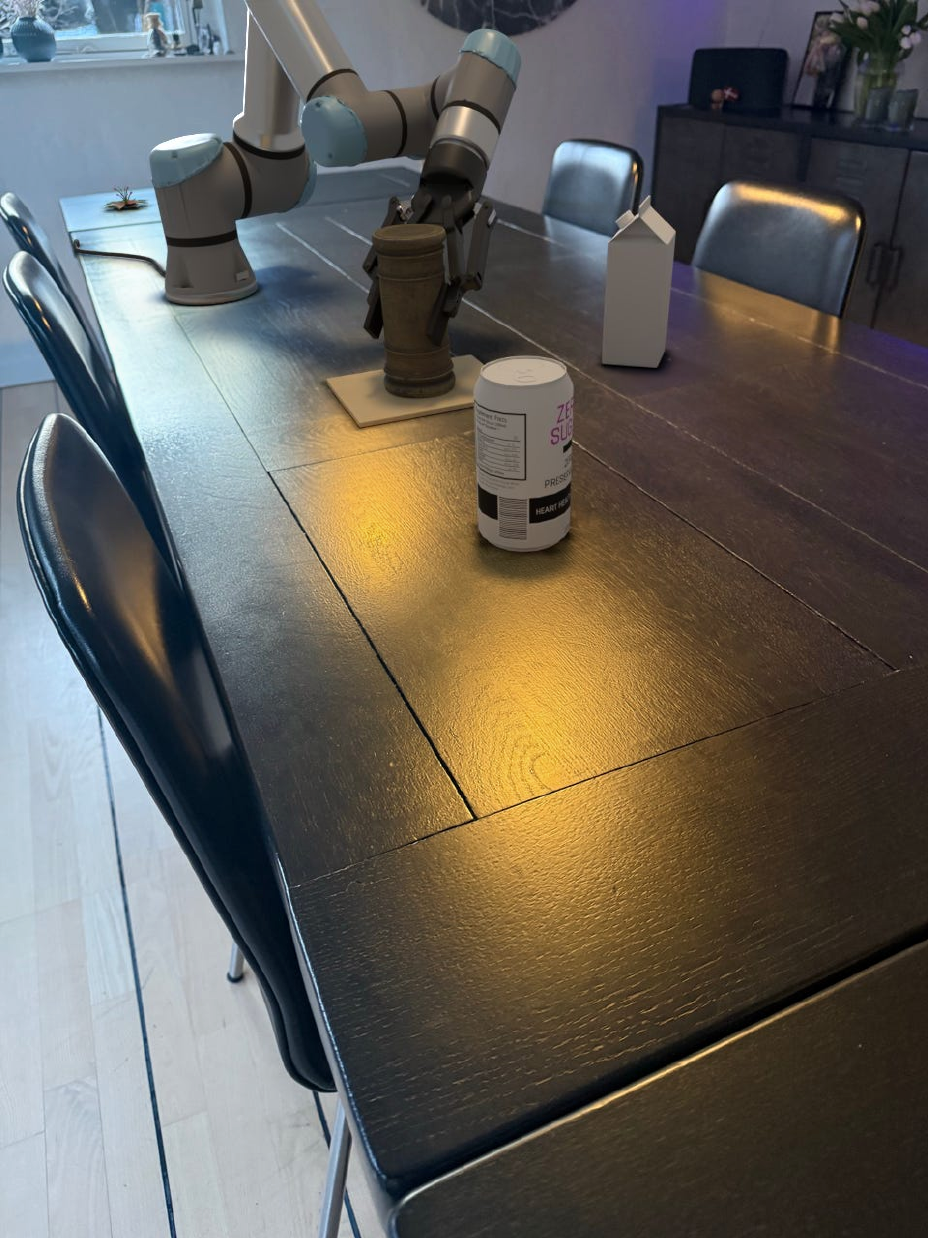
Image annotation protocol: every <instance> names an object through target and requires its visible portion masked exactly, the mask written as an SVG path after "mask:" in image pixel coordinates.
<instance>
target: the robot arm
mask: <svg viewBox="0 0 928 1238" xmlns="http://www.w3.org/2000/svg"><path fill="white" fill-rule="evenodd" d="M243 2H244V3H245V5H246V7H247V23H246V24H247V26H246V46H245V48H246V49H245V67H244V69H245V70H244V86H243V87H244V89H243V108H242V110H243V111H242V112H241V113H240V114H238V115H236V117H235V118H234V119H233V121H232V134H231V135H232V136H231V140H227V141H223V139H222V138H221V136H220V135H218V134H217V133H214V132H213V133H210V132H207V133H205V132H204V133H196V134H193V135H185V136H181V137H177V138H174V139H173V138H172V139H170V140H168V141H165V142H162V143H159V144H158V145H156V146H155V147H153V149H152V150H150V151H151V152H150V154H149V157H148V161H149V168H150V175H151V185H152V186H153V191H154V194H155V199H156V203H157V208H158V212H159V216H160V221H161V225H162V228H163V235H164V238H165V243H166V249H167V251H166V265H165V269H164V268H163V266H161V265H160V264H159V262H157V261H156V260H155V259H154V258H152V257H149V256H145V255H141V254H134V253H126V252H125V253H124V252H111V251H100V250H90V249H89V250H88V249H82V248H79V247H80V246H81V243H80V240H79V238H75V239H74V240H73V242H72V246H73V250H74V252H76V253H78V254H81V255H88V256H99V257H111V258H124V259H133V260H138V261H139V260H140V261H145V262H147V263H149V264H152V265H153V266H154V267H155V268H156V269H157V270H158V271H159V272H160V273H161V274H162V275H163V276H164V277H165V278H164V291H165V295H166V299H167V300H168V301H169V302H172V303H175V304H179V305H190V306H199V305H200V306H202V305H215V304H222V303H227V302H233V301H237V300H240V299H244V298H247V297H249V296H251V295H253V294H254V293H256V291H258V289H259V286H258V281H257V280H258V279H257V277H256V274H255V271H254V269H253V267H252V265H251V263H250V261H249V259H248V257H247V255H246V253H245V250H244V249H243V247H242V245H241V243H240V239H239V235H238V234H239V233H238V228H237V223H236V221H240V220H241V221H242V220H246V219H250V218H251V219H252V218H256V217H261V216H267V215H270V214H284V213H288V212H290V211H292V210H294V209H295V210H296V209H299V208H302V207H304V205H306V204H308V202H309V201H310V200H311V198H312V196H313V194H314V191H315V189H316V185H317V179H318V165H319V166H321V167H323V168H343V167H344V168H345V167H346V168H347V167H348V168H352V167H356V166H359V165H361V164H366V163H373V162H377V161H383V160H388V159H389V160H390V159H398V158H403V157H405V158H407V159H410V160H412V161H420V160H423V159H425V158H426V159H425V162H424V165H423V168H422V171H421V173H420V175H419V182H418V183H419V184H418V189H417V190H416V191H415V192H414V194H413V195H412V197H411V199H405V200H404V199H403V200H400V199H399V197H398V196H392V197H390V199H388V200H389V201H388V207H387V213H386V215H385V218H384V219H383V222H382V224H381V226H380V228H379V229H381V228H384V227H388V226H394V225H403V224H430V225H437V226H440V227H442V228H444V230H445V232H446V239H445V240H446V250H447V251H446V253H447V262H448V274H449V275H448V276H447V279H448V281H449V282H450V284H449V282H445V283H444V282H442V285H441V289H440V291H439V294H438V297H437V301H436V304H435V307H434V310H433V313H432V316H431V319H430V322H429V325H428V329H427V332H426V336H427V337H428V338H429V340H430V341H431V342H432V343H433V345H434V346H438V347H440V346H441V343H442V340H443V337H444V334H445V330H446V327H447V325H448V324H449V322H450V321H449V320H450V318H451V319H455V318H456V316H457V315H458V313H459V309H460V306H461V303H462V300H463V297H464V295H465V294H466V293H467V292H469V291H474V292H478V291H481V290H482V289H483V284H484V279H485V278H484V277H485V273H486V266H487V260H488V254H489V249H490V248H489V246H490V242H491V241H490V240H491V234H492V231H493V230H494V227H495V226H496V224H497V222H498V219H499V216H498V214H497V212H496V209H495V208H494V206H493V204H492V202H491V201H489V200H486V201H484V202H483V203H479V201H480V199H481V196H482V193H483V190H484V187H485V184H486V181H487V178H488V172H489V170H490V167H491V164H492V161H493V158H494V155H495V151H496V149H497V146H498V142H499V139H500V136H501V134H502V131H503V128H504V126H505V122H506V119H507V116H508V113H509V110H510V107H511V104H512V101H513V98H514V96H515V92H516V91H517V88H518V84H517V83H518V79H519V76H520V72H521V68H522V56H521V52H520V51H519V48H518V46H517V45H516V44H515V42H514V41H512V40H510V38H509V37H508V36H507V35H506V34H504V33H502V32H501V31H499V30H495V29H491V28H479V29H476V30H473V31H472V32H470V33H469V34H468V35H467V37H466V38H465V40H464V42H463V44H462V47H461V48H460V49H459V51H458V59H457V61H456V62H455V64H453V65H452V66H451V67H450V68H448V69H447V70H445V71H443V72H442V73H441V74H439V75H438V76H436V78H434V79H432V80H430V81H428V82H427V83H424V84H421V85H418V86H409V87H400V88H393V89H392V88H391V89H381V90H371V91H370V90H368V89H367V87H366V85H365V83H364V81H363V80H362V78H361V76H360V75H359V74H358V72H357V70H356V69H355V67H354V66H353V64H352V61H351V60H350V59H349V56H348V55H347V53H346V51H345V50H344V48H343V47H342V44H341V43H340V41H339V39H338V38H337V36H336V34H335V32H334V30H333V28H332V27H331V25H330V24H329V22H328V20H327V19H326V16H325V15H324V13H323V12H322V9H321V8H320V7H319V4H318V3H317V1H316V0H243ZM301 102H302V103H303V105H304V106H303V108H302V112H301V116H300V123H299V115H300V104H301ZM410 214H411V215H410ZM409 216H410V217H409ZM472 219H474V222H473V227H472V233H471V240H470V245H469V252H468V257H467V264H466V262H465V251H464V244H465V237H464V236H465V235H464V227H465V226H466V225H467V224H468V223H470V221H472ZM376 248H377V247H376V246H374V245H373V244H371V246H370V249H369V250H368V253H367V255H366V257H365V259H364V261H363V263H362V265H361V266H362V267H361V268H362V270H363V271H364V272H365V273H366V275H367V276H368V277H369V279H370V280H371V282H372V283H371V286H370V289H369V292H368V295H367V298H366V303H367V304H368V306H369V307H368V311H367V314H366V316H365V320H364V323H363V325H362V328H363V329H364V330H365V332H367V333H368V335H369V336H370V337H371V338H372V339H373V340H379V339H380V336H381V333H382V331H383V318H382V308H381V298H380V288H379V277H378V275H377V271H378V258H377V254H376V253H375V249H376Z"/></svg>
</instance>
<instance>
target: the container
mask: <svg viewBox="0 0 928 1238" xmlns="http://www.w3.org/2000/svg"><path fill="white" fill-rule="evenodd" d="M380 228H381V227H380ZM380 228H378V229H376V230H374V231H373V232H372V235H371V243H372V245H374V246H376V247H377V248H376V249H375V253H376V254H377V258H378V271H377V275H378V277H379V288H380V298H381V308H382V318H383V327H382V330H383V339H384V340H383V343H382V347H383V351H384V359H385V363H384V365H383V367H382V369H383V371H384V373H385V374H386V375H385V377H384V380H383V382H384V386H385V389H386V390H387V391H388V392H389V393H391V394H393V395H396V396H400V397H406V398H427V397H434V396H438V395H442V394H444V393H447V392H448V391H450V390H451V389H452V388H453V387H454V386H455V382H456V376H455V374H454V372H453V371H452V370H453V368H454V364H453V362H452V360H451V358H452V357H451V347H450V346H451V340H450V336H449V327H448V324H447V327H446V330H445V334H444V337H443V340H442V343H441V346H440V347H438V346H434V345H433V343H432V342H431V341H430V340H429V338H428V337H427V336H426V332H427V329H428V325H429V322H430V319H431V316H432V313H433V310H434V307H435V304H436V301H437V297H438V294H439V291H440V289H441V285H442V282H444V283H446V274H445V273H446V269H447V268H446V267H445V265H444V253H445V251H444V250H445V244H444V243H445V241H446V240H447V239H446V232H445V230H444V228H442V227H440V226H437V225H430V224H406V223H405V224H403V225H394V226H388V227H384V228H381V229H380Z"/></svg>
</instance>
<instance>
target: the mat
mask: <svg viewBox="0 0 928 1238" xmlns="http://www.w3.org/2000/svg"><path fill="white" fill-rule="evenodd" d="M450 358H451V360H452V362H453V364H454V368H453V370H452V371H453V372H454V374H455V376H456V382H455V386H454V387H453V388H452V389H451V390H450V391H448V392H447V393H444V394H442V395H438V396H434V397H427V398H406V397H400V396H396V395H393V394H391V393H389V392H388V391H387V390H386V389H385V386H384V382H383V380H384V377H385V375H386V374H385V373H384V371H383V368H382V369H376V370H370V371H365V372H359V373H352V374H348V375H342V376H340V375H339V376H335V377H329V378H325V383H326V385H327V386H328V388H329V389H330V390H331V391H332V393H333V394H334V395H335V397H336V398H337V400H338V401H339V402H340V403H341V405H342V406H343V408H344V409H345V410H346V411H347V413H348V414H349V415H350V416H351V418H352V419H353V420H354V422H355V423H356V424H357V426H358V427H359V428H360V429H361V428H366V427H371V426H376V425H377V426H378V425H382V424H383V425H384V424H388V423H392V422H398V421H403V420H409V419H414V418H420V417H425V416H429V415H430V416H431V415H436V414H441V413H446V412H452V411H458V410H462V409H469V408H474V397H473V391H474V386H475V384H476V382H477V380H478V378H479V376H480V372H481V368H482V367H483V366H484V365H485V364H484V363H482V362H481V360H479V359H477V357H475V356H474V355H472V354H465V355H459V356H453V357H450Z"/></svg>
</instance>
